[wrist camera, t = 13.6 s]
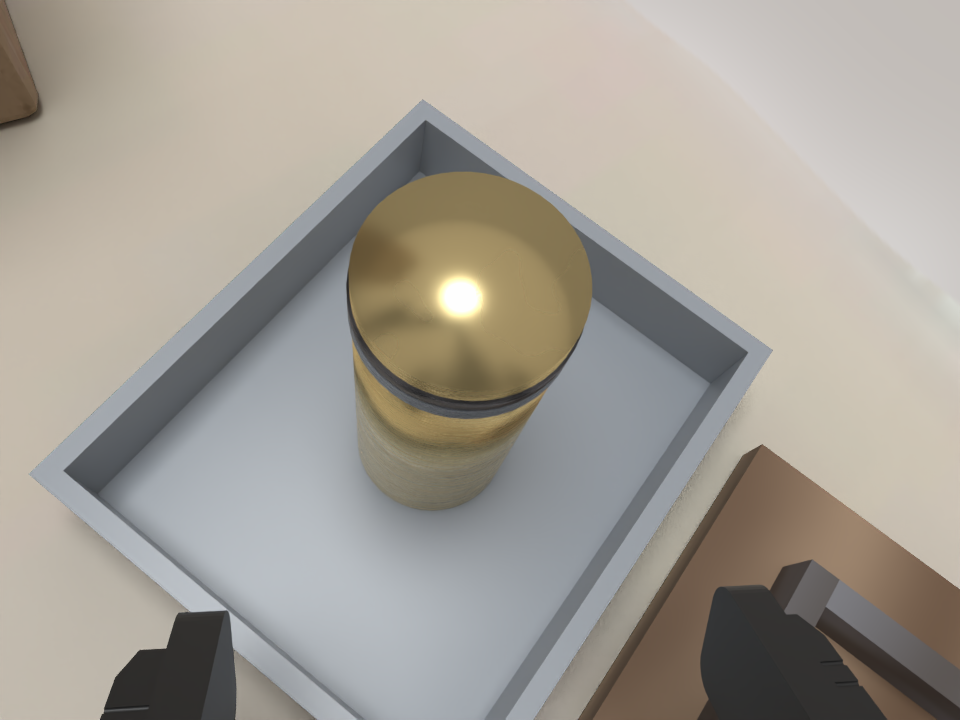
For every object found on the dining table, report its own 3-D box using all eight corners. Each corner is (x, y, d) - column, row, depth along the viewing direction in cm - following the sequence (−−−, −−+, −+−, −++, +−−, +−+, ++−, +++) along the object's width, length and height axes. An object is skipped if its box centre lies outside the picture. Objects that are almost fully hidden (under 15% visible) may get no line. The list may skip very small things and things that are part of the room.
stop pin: (324, 449, 21) (291, 289, 12) (418, 340, 23) (448, 128, 14) (446, 544, 21) (501, 446, 12) (534, 425, 22) (640, 261, 13)
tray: (73, 501, 20) (28, 474, 18) (416, 161, 26) (422, 99, 23) (442, 814, 19) (456, 837, 16) (725, 387, 24) (772, 350, 21)
